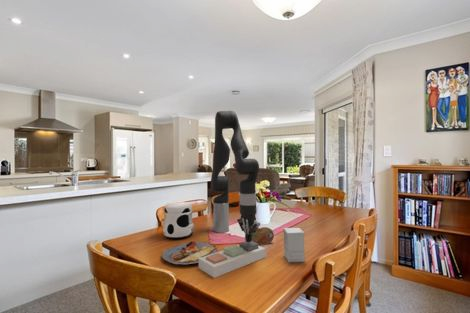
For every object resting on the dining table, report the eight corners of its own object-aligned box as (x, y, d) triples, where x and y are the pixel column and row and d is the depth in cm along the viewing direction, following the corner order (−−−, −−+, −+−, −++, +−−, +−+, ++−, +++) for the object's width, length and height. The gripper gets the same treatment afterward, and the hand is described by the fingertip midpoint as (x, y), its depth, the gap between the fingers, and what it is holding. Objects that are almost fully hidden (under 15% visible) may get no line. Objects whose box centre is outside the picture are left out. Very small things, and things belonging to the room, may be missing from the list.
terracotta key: (206, 264, 101) (205, 256, 101) (218, 260, 105) (217, 253, 105) (214, 269, 96) (214, 261, 96) (226, 264, 100) (226, 257, 100)
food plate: (194, 242, 132) (194, 235, 132) (227, 253, 117) (227, 245, 117) (152, 259, 113) (151, 251, 112) (185, 274, 98) (185, 266, 98)
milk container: (160, 234, 148) (159, 203, 147) (189, 229, 155) (188, 200, 155) (166, 243, 132) (166, 209, 132) (198, 237, 140) (197, 205, 140)
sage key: (223, 255, 107) (223, 248, 107) (234, 251, 111) (234, 244, 111) (232, 259, 102) (232, 252, 102) (243, 255, 106) (243, 248, 106)
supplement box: (300, 255, 113) (299, 227, 113) (305, 262, 106) (304, 232, 106) (283, 255, 113) (283, 227, 113) (287, 262, 106) (287, 232, 106)
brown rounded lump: (246, 246, 125) (246, 230, 125) (244, 244, 128) (244, 228, 128) (274, 243, 129) (273, 227, 129) (271, 241, 132) (271, 225, 132)
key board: (198, 268, 102) (198, 258, 102) (248, 250, 120) (248, 242, 120) (214, 277, 93) (214, 267, 93) (265, 257, 111) (265, 248, 111)
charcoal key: (239, 249, 113) (239, 243, 113) (249, 246, 117) (248, 240, 117) (248, 253, 108) (248, 246, 108) (258, 250, 112) (258, 243, 112)
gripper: (232, 202, 115) (232, 240, 115) (252, 206, 105) (252, 247, 105) (244, 200, 120) (244, 236, 120) (264, 203, 110) (265, 243, 110)
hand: (248, 241), depth 112 cm, fingers closed
